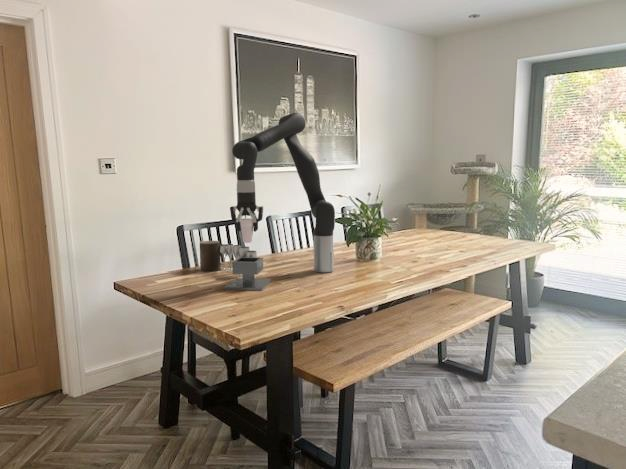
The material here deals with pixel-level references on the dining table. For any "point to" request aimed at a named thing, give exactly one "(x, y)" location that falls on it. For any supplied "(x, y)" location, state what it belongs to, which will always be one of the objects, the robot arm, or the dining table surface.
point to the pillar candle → (210, 256)
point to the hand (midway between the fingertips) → (247, 231)
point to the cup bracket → (247, 274)
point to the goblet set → (235, 253)
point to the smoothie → (247, 229)
